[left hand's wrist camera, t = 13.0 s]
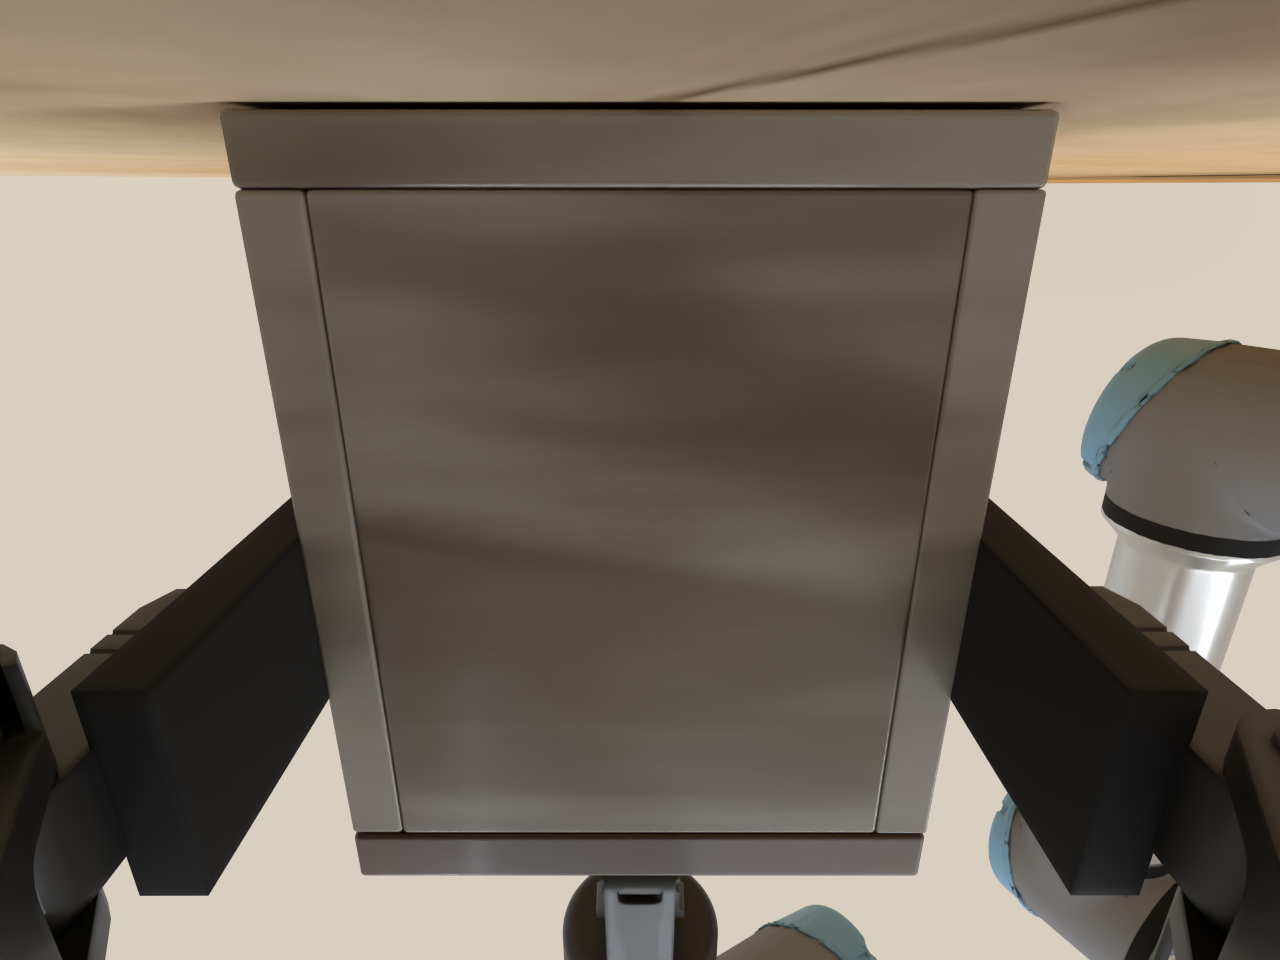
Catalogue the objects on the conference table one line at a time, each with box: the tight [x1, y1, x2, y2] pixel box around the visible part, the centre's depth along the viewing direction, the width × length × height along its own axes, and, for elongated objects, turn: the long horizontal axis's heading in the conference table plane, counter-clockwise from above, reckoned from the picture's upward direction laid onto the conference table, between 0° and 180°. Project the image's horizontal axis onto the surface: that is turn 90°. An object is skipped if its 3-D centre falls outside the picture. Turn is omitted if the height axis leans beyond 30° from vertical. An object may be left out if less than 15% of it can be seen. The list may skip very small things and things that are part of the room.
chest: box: [220, 109, 1059, 833], centre depth 18 cm, size 17×10×11 cm, turn 0°
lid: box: [355, 827, 924, 875], centre depth 22 cm, size 18×10×8 cm, turn 0°
